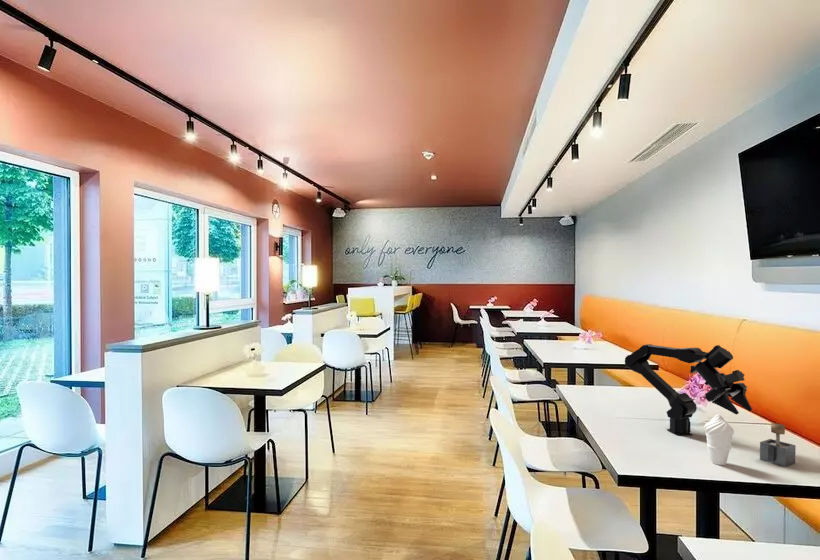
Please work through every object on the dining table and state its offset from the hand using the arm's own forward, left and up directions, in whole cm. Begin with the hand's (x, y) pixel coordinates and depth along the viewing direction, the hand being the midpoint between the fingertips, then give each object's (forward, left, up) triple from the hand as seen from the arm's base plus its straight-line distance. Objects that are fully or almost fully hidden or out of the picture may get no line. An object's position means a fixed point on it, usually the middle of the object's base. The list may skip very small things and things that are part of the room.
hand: (744, 412), depth 165 cm
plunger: (+4, -9, -9) cm, 14 cm away
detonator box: (+4, -9, -14) cm, 17 cm away
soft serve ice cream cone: (-17, -9, -14) cm, 24 cm away
